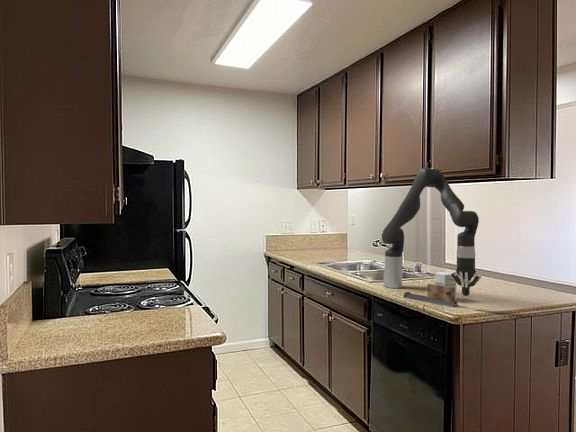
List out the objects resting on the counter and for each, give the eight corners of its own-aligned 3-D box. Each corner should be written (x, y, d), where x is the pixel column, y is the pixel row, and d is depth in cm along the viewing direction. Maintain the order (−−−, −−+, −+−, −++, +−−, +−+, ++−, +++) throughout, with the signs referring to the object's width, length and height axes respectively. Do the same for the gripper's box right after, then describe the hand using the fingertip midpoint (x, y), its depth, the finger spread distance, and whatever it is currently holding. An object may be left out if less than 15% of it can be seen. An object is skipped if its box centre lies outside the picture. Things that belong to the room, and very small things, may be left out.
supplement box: (434, 297, 210) (434, 272, 210) (446, 296, 213) (446, 271, 212) (444, 301, 203) (444, 274, 203) (456, 299, 206) (457, 273, 205)
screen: (426, 298, 202) (426, 284, 202) (428, 298, 203) (428, 283, 203) (451, 303, 192) (451, 288, 192) (454, 303, 193) (454, 287, 193)
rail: (403, 297, 211) (403, 292, 211) (408, 296, 214) (408, 291, 213) (453, 307, 191) (453, 301, 191) (457, 305, 193) (457, 300, 193)
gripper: (447, 255, 191) (447, 294, 191) (476, 258, 181) (476, 299, 181) (456, 254, 195) (456, 292, 196) (484, 256, 185) (484, 296, 186)
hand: (465, 295), depth 188 cm, fingers closed
